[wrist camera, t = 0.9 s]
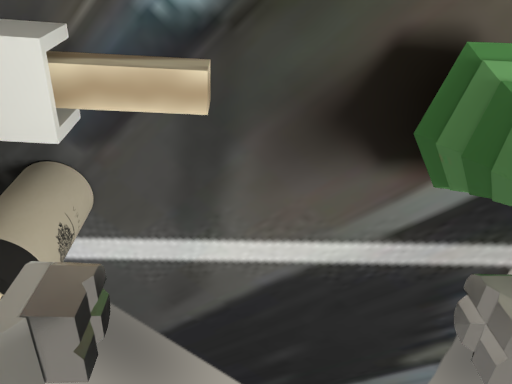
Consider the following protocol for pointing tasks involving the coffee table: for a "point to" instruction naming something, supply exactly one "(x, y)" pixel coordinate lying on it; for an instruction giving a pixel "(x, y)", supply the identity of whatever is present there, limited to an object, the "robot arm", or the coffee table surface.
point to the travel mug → (40, 217)
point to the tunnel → (30, 83)
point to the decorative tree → (472, 125)
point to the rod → (130, 82)
